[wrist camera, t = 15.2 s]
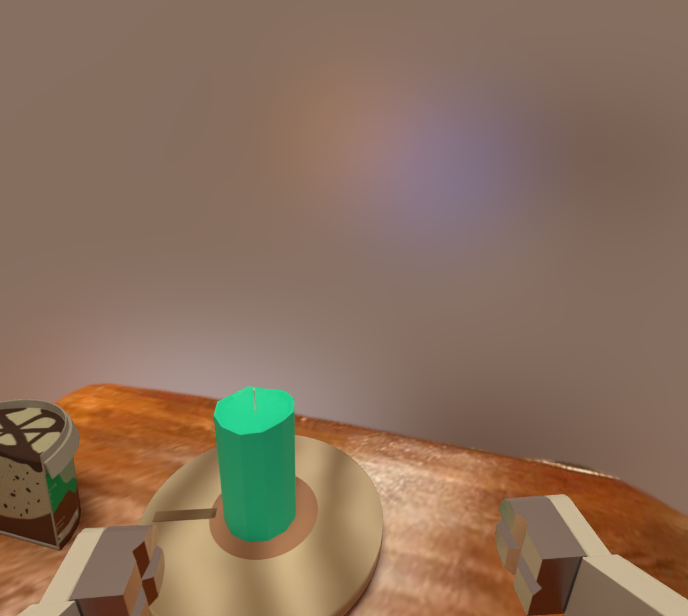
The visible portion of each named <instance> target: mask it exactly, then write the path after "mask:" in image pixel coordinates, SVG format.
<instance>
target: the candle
mask: <svg viewBox="0 0 688 616" xmlns="http://www.w3.org/2000/svg"><path fill="white" fill-rule="evenodd" d="M214 422H215V432H216V442H217V452H218V462H219V471H220V481H221V491H222V501H223V511H224V521H225V523H226V525H227V527H228V528H229V530H230V532H231V534H232V535H233V536H236V537H238V538H240V539H242V540H244V541H246V542H260V541H269V540H271V539H273V538H275V537H276V536H278V535H280V534H282V533H284V532H285V531H286V530H287V529H288V527H289V526H290V524H291V523H292V522H293V520H294V519H295V517H296V481H295V422H294V398H292V397H291V396H290V395H289V394H288V393H287V392H286V391H284V390H269V389H262V388H255V387H247V388H245V389H243V390H240V391H238V392H236V393H234V394H232V395H230V396H228V397H226V398H224V399H222V400H220V401H218V402H217V405H216V409H215V413H214Z"/></svg>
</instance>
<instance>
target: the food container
mask: <svg viewBox="0 0 688 616" xmlns="http://www.w3.org/2000/svg"><path fill="white" fill-rule="evenodd" d="M79 439H80V436H79V432H78V430H77V428H76V426H75V425H74V423H73V421H72V420H71V418H70V416H69V415H68V414H67V413H66V412H65V411H64V410H63V409H62V408H60V407H59V406H58V405H56V404H54V403H51V402H47V401H43V400H32V399H22V400H10V401H2V402H0V534H2V535H5V536H9V537H12V538H16V539H20V540H23V541H27V542H30V543H34V544H38V545H41V546H45V547H48V548H52V549H55V550H59V551H60V550H61V549H62V548H63V547H64V546H65V544H66V543H67V542H68V541H69V540H70V539H71V537H72V535H73V533H74V531H75V529H76V528H77V526H78V524H79V519H80V511H81V509H80V502H79V495H78V488H77V480H76V473H75V466H74V459H73V456H74V454H75V453H76V451H77V448H78V445H79Z"/></svg>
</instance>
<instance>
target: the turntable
mask: <svg viewBox="0 0 688 616" xmlns="http://www.w3.org/2000/svg"><path fill="white" fill-rule="evenodd" d="M295 481H296V517H295V519H294V520H293V522H292V523H291V524H290V526H289V527H288V529H287V530H286V531H285V532H284V533H282V534H280V535H278V536H276V537H275V538H273V539H271V540H269V541H260V542H246V541H244V540H242V539H240V538H238V537H236V536H233V535H232V534H231V532H230V530H229V528H228V527H227V525H226V523H225V521H224V511H223V501H222V491H221V481H220V471H219V462H218V452H217V447H215V448H213V449H210V450H208V451H206V452H204V453H203V454H201V455H199V456H197V457H196V458H194V459H192V460H191V461H189V462H188V463H186V464H185V465H184V466H182V467H181V468H180V469H179V470H177V471H176V472H175V473H174V474H173V475H172V476H171V477H170V478H169V479H168V480H167V481H166V482H165V483H164V484H163V485H162V486H161V487H160V489H159V490H158V491H157V492H156V493H155V495H154V496H153V498H152V499H151V501H150V502H149V504H148V506H147V508H146V510H145V512H144V514H143V516H142V518H141V521H140V524H139V525H157V529H158V532H159V539H158V541H157V544H156V545H157V546H159V547H160V548H161V549H163V553H164V560H165V569H164V576H163V583H162V586H161V590H160V593H159V596H158V598H157V599H156V600H155V601H154V602H153V603H152V604H151V605H150V606H149V610H150V612H151V614H152V616H344V615H345V614H346V613H347V612H348V611H349V609H350V608H351V607H352V606H353V605H354V604H355V603H356V602H357V601H358V599H359V598H360V596H361V595H362V593H363V592H364V590H365V589H366V587H367V586H368V584H369V582H370V580H371V578H372V576H373V574H374V572H375V568H376V565H377V562H378V559H379V555H380V549H381V543H382V532H383V514H382V507H381V502H380V499H379V495H378V492H377V490H376V488H375V486H374V484H373V482H372V480H371V479H370V477H369V476H368V474H367V473H366V472H365V470H364V469H363V468H362V467H361V466H360V465H359V464H358V463H357V462H356V461H355V460H354V459H352V458H351V457H350V456H349V455H347V454H346V453H344V452H343V451H341V450H340V449H338V448H336V447H334V446H332V445H330V444H327V443H325V442H322V441H319V440H316V439H312V438H309V437H304V436H298V435H295Z"/></svg>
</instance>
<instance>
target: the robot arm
mask: <svg viewBox="0 0 688 616" xmlns="http://www.w3.org/2000/svg"><path fill="white" fill-rule="evenodd" d="M499 511H500V513H501V515H502V517H503V518H502V519H501V520H500V521H499V522H498V523H497V525H496V532H495V538H496V546H497V550H498V553H499V556H500V559H501V561H502V563H503V565H504V567H505V568H506V569H507V570H509V571H510V572H511V573H512V574H513V575H515V579H514V584H513V587H514V589H515V591H516V593H517V595H518V597H519V600H520V602H521V604H522V606H523V608H524V610H525V612H526V614H527V616H533V615H549V614H564V616H688V600H687V599H685V598H684V597H682V596H681V595H679V594H678V593H676V592H675V591H673V590H672V589H670V588H669V587H667V586H665V585H664V584H662V583H661V582H659V581H658V580H656V579H655V578H653V577H652V576H650V575H649V574H647V573H646V572H644V571H642V570H641V569H639V568H638V567H636V566H635V565H633V564H632V563H630V562H629V561H627V560H626V559H624V558H622V557H621V556H619V555H611V553H610V552H609V551H608V549H607V548H606V547H605V545H604V544H603V543H602V541H601V540H600V539H599V537H598V536H597V534H596V533H595V532H594V530H593V529H592V528H591V526H590V525H589V524H588V522H587V521H586V520H585V518H584V517H583V516H582V514H581V513H580V512H579V510H578V509H577V508H576V506H575V505H574V504H573V502H572V501H571V499H570V498H569V497H567V496H566V495H564V494H563V495H549V496H533V497H521V498H509V499H504V500H503V501H502V502H501V505H500V510H499ZM158 539H159V532H158V529H157V525H137V526H115V527H99V528H85V529H83V530H82V531H81V532H80V533H79V534H78V535H77V537H76V539H75V541H74V542H73V544H72V546H71V548H70V549H69V551H68V553H67V555H66V556H65V558H64V560H63V562H62V563H61V565H60V567H59V569H58V570H57V572H56V574H55V576H54V577H53V579H52V581H51V583H50V585H49V586H48V588H47V590H46V592H45V593H44V595H43V597H42V599H41V600H40V602H39V604H31V605H30V606H28V607H27V608H26V609H25V610H24V611H22V612H21V613H20V614H19V615H18V616H151V614H150V610H149V606H150V605H151V604H152V603H153V602H154V601H155V600H156V599H157V598H158V596H159V593H160V590H161V586H162V583H163V576H164V569H165V560H164V553H163V549H161V548H160V547H159V546H157V545H156V544H157V541H158Z"/></svg>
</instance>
